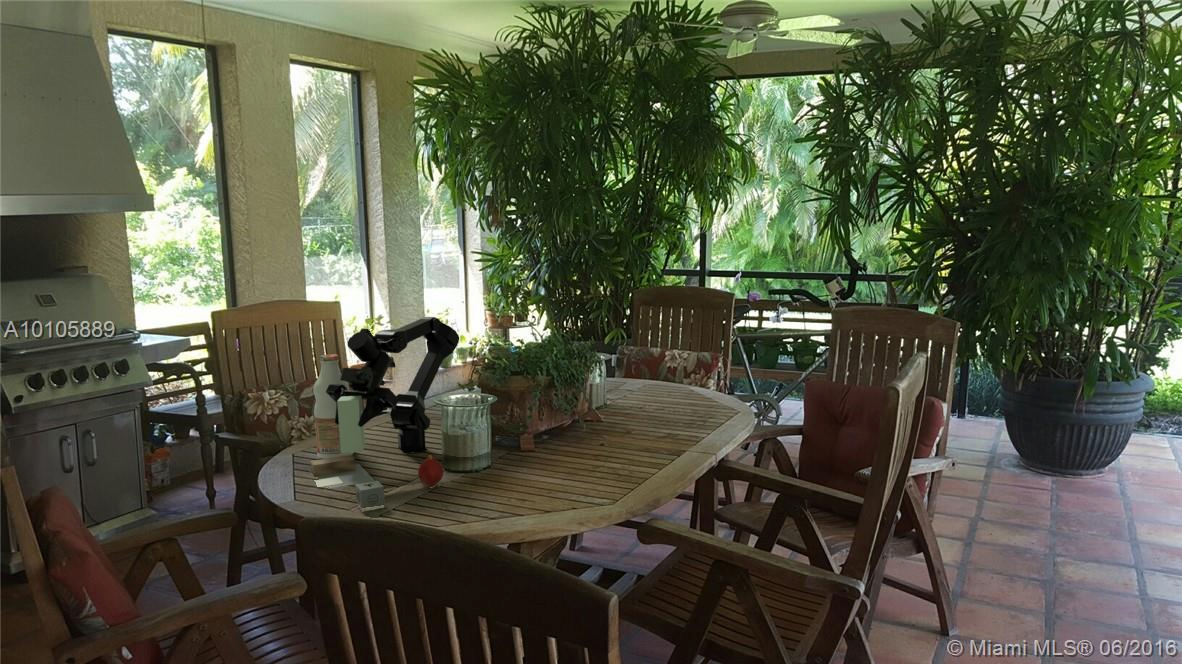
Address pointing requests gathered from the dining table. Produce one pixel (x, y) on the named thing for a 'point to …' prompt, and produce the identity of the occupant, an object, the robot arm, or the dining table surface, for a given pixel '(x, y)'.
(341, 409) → the post
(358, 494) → the dice cube
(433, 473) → the onion
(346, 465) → the beam
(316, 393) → the fruit juice
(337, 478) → the board
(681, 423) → the dining table surface
